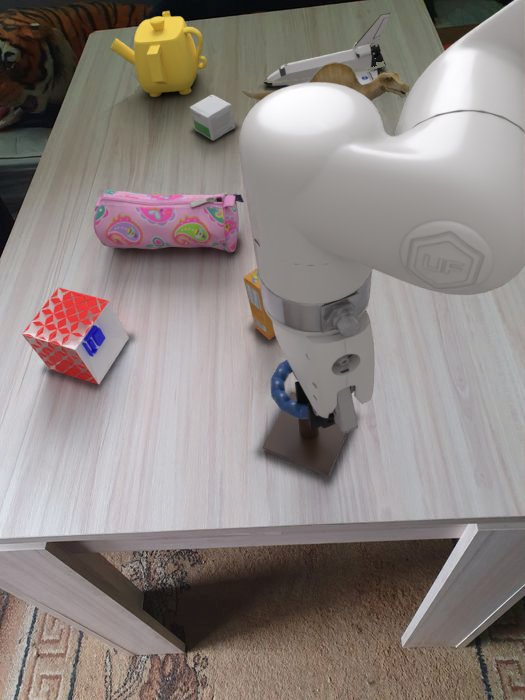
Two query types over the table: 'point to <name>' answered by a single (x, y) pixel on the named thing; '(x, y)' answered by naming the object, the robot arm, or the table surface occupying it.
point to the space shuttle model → (338, 60)
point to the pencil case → (167, 220)
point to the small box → (212, 117)
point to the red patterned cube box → (77, 335)
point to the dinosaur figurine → (352, 82)
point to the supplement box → (258, 305)
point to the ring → (282, 397)
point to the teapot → (164, 54)
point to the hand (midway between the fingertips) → (318, 409)
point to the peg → (305, 443)
